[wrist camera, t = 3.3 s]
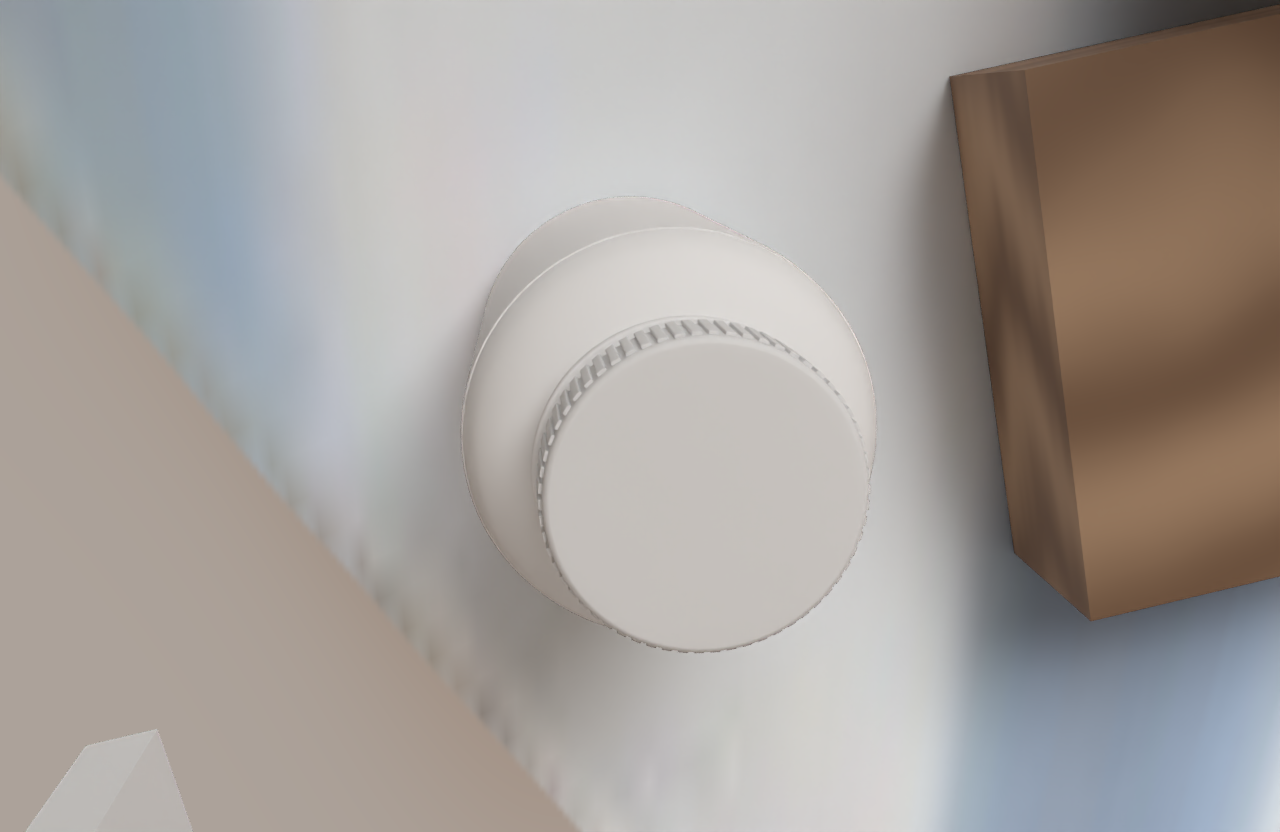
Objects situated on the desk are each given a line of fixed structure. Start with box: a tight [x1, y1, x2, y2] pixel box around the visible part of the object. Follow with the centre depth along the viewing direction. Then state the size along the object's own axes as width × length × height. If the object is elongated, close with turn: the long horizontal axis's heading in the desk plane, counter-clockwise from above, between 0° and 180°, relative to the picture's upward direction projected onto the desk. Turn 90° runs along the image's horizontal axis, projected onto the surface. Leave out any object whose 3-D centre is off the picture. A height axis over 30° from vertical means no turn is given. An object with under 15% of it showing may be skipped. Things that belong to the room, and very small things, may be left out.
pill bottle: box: [461, 196, 877, 653], centre depth 26 cm, size 8×8×15 cm
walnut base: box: [950, 4, 1280, 621], centre depth 32 cm, size 14×14×5 cm
